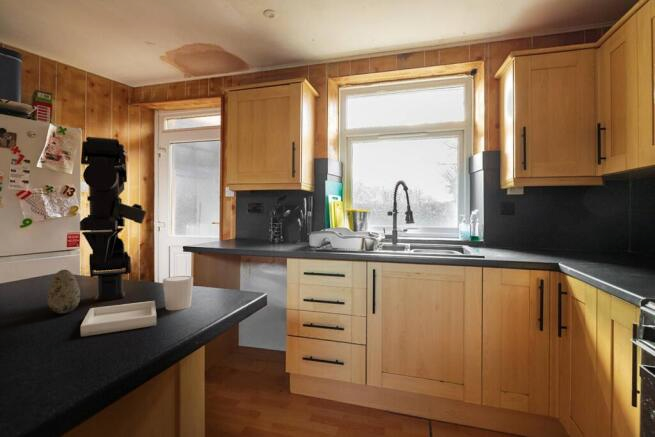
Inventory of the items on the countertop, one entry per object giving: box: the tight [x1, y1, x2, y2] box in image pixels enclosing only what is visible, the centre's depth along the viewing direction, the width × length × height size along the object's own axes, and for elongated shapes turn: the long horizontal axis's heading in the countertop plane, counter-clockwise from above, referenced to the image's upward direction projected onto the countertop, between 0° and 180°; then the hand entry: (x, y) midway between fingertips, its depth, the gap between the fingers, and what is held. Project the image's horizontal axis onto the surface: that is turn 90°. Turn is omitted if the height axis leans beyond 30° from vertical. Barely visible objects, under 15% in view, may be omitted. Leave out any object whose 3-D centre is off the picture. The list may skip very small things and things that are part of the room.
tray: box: [80, 300, 157, 337], centre depth 71 cm, size 13×13×2 cm
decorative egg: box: [46, 269, 81, 314], centre depth 76 cm, size 6×6×10 cm
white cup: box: [162, 275, 194, 311], centre depth 81 cm, size 7×7×7 cm
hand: (105, 259), depth 77 cm, fingers open, 9 cm apart
